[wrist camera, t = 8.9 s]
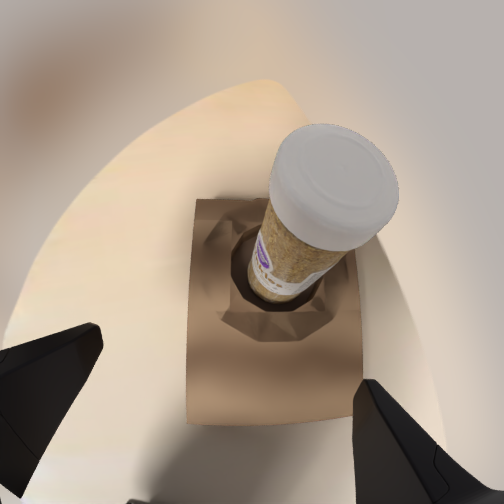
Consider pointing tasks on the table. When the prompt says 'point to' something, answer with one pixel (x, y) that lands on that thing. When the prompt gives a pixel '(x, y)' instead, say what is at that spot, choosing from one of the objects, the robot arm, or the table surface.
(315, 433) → the table surface
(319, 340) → the board
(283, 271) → the sprinkles bottle
